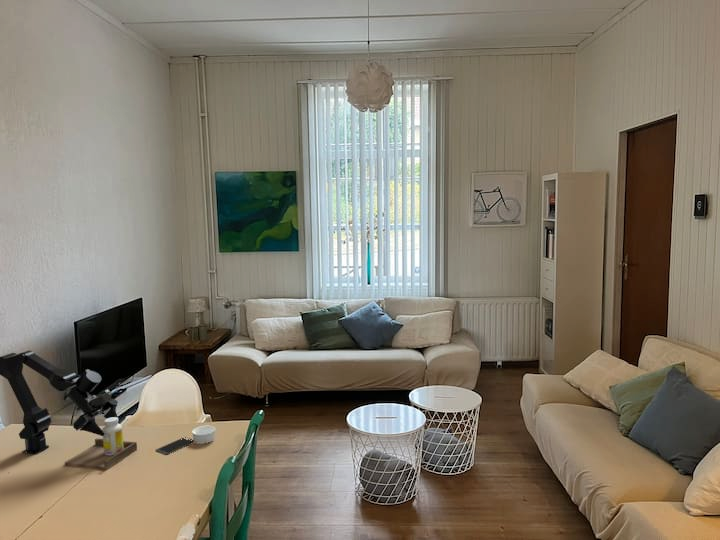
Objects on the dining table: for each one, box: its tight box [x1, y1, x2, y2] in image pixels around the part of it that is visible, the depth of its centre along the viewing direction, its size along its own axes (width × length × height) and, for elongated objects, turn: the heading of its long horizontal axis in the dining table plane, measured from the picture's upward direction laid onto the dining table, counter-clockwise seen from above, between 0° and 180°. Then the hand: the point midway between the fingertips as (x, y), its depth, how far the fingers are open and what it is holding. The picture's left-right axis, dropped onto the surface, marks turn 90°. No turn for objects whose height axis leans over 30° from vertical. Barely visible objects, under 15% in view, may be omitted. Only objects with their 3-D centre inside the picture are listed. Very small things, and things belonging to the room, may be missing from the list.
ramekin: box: [191, 425, 216, 445], centre depth 201 cm, size 9×9×4 cm
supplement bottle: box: [101, 417, 124, 456], centre depth 189 cm, size 7×7×13 cm
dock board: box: [64, 438, 138, 471], centre depth 188 cm, size 18×16×3 cm
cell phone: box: [155, 436, 194, 456], centre depth 197 cm, size 7×14×1 cm, turn 146°
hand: (111, 430), depth 189 cm, fingers open, 9 cm apart
